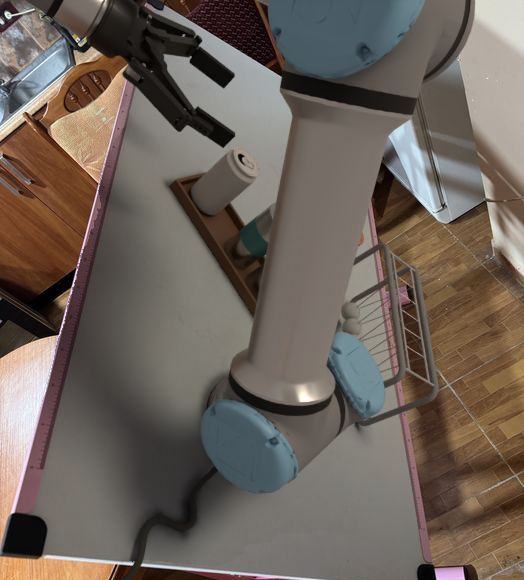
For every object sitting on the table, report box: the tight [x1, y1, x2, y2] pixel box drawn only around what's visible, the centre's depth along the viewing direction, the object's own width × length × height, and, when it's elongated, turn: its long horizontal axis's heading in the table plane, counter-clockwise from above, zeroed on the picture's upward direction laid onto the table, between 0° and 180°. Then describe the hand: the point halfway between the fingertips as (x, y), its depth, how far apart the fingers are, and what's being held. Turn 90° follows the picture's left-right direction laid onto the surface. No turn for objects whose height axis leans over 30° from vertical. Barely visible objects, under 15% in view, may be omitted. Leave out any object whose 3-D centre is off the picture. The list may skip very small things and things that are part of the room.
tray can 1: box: [224, 202, 276, 270], centre depth 96 cm, size 6×6×12 cm
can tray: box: [169, 171, 266, 317], centre depth 99 cm, size 10×27×2 cm, turn 47°
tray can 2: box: [246, 262, 265, 300], centre depth 96 cm, size 6×6×12 cm
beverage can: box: [191, 146, 260, 215], centre depth 95 cm, size 6×6×12 cm
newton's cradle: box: [340, 242, 440, 427], centre depth 104 cm, size 30×10×18 cm, turn 178°
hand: (229, 109), depth 83 cm, fingers open, 13 cm apart
